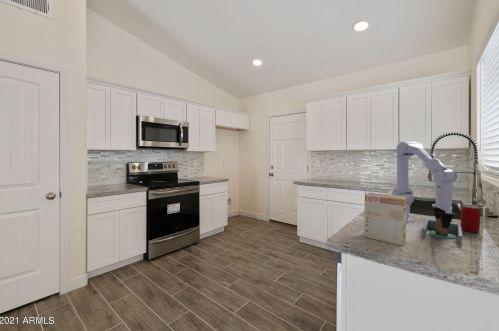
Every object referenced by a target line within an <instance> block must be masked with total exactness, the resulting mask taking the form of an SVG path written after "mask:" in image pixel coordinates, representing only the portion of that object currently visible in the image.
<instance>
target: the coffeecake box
mask: <svg viewBox="0 0 499 331" xmlns="http://www.w3.org/2000/svg"><path fill="white" fill-rule="evenodd" d="M363 209H364V216H363V218H364V219H363V237H364V238H369V239H372V240H377V241H381V242H384V243H385V242H386V243H389V244H392V245H398V246H401V247H402V246H403V245H404V244H405V243H406V240H407V237H406V236H407V222H406V219H407V197H405V196H395V195H392V194H386V193H385V194H384V193H377V192H376V193H375V192H368V193H365V194H364V208H363Z"/></svg>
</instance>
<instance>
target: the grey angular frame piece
mask: <svg viewBox="0 0 499 331" xmlns="http://www.w3.org/2000/svg"><path fill="white" fill-rule="evenodd" d="M429 229H431V230H432V229H433V230H436V220H433V219H427V218H426V220H425V222H424V223H423V227H422V231H421V232H422V236H421V237H422V239H426V236H427V234H428V230H429ZM462 231H463V229H461V223H454V222H451V223H450V226H449V228H448V233H449V232H450V233H455V234H457V242H458V246H462V245H463V232H462Z"/></svg>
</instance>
